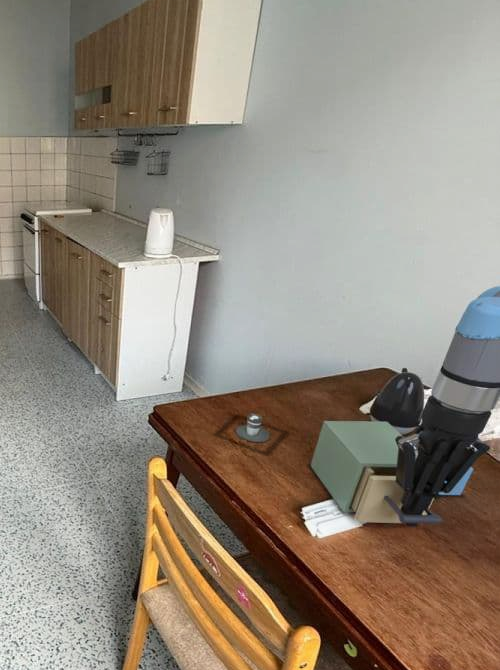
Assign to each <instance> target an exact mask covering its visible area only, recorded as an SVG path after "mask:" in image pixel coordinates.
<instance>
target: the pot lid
mask: <svg viewBox="0 0 500 670" xmlns="http://www.w3.org/2000/svg"><path fill="white" fill-rule="evenodd" d="M262 424H263V416H262V415H261V414H258V413H249V414H248V415H247V417H246V424H241V425H239V426H237V427H236V429H235V433H236V435H237V436H238V437H239V438H241V439H243V440H245V441H247V442H252V443H265V442H267V441H269V440H270V438H271V434H270V432H269V431H268V430H267V429H265V428H264V427H261V425H262Z"/></svg>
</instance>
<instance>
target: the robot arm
mask: <svg viewBox="0 0 500 670" xmlns="http://www.w3.org/2000/svg"><path fill="white" fill-rule="evenodd" d="M447 349H448V350H447V352H446V354H445V357H444V359H443V362H442V365H441V367H440V369H439V371H438V373H437V376H436V378H435V382H434V383H433V386H432V387H431V388H432V389H431V391H430V392H431V393H430V394H431V395H429V396H428V398H427V400H426V403H425V404H424V409H423V412H422V419H421V422H420V424H419V425H418V426H417V427H416V428H415V429H414V433H413V434H411V435H408V436H406V437H405V436H403V435H402V436H398V437H396V439H395V441H396V443H397V446H398V459H397V469H396V480H395V481H396V483H397V484H398V485H399V486H400V487H401V488H402V489H403V490H404V491H405V492H404V494H403V496H402V499H401V504H402V507H401V509H400V510H401V511H402V512H403V513H404V515H422V513H423V511H424V509H427V508H428V507H429V506H430V504H431V502H432V500H433V498H434V500H439V499H441V498H442V495H440V494H439V492H444V493H449V492H451V491H452V489H453V488H454V487H455V486H456V484H457V483H458V482H459V481H460V480H461V478H462V477H463V476H464V475H465V473H466V472H467V471H468V470H469V469H470V467H472V466H473V465H474V464H475V463H476V461H477V460H478V459H479V458H481V457H482V456H483V455H485V454H486V453H487V452H488V451H490V449H491V447H490V445H488V444H487V443H486V442H484V441H483V440H482V439H480V438H479V435H480V434H482V433H483V432H484V430H485V428H486V427H487V424H488V422H489V420H490V418H491V416H492V410H494V409H495V408H496V405H497V404H498V401H499V400H500V285H497V286H493V287H491V288H488V289H486V290H485V291H483V292H481V294H480V295H478V296H477V297H476V298H475V299H473V300H472V301H470V302H469V303H468V305H467V306H466V308H465V310H464V312H463V313H462V316H461V318H460V320H459V321H458V324H456V326H455V328H454V334H453V337H452V339H451V342H450V344H449V346H448V348H447ZM415 451H418V455H417V458H416V454H415ZM415 458H416V460H415ZM445 481H446V482H447V483H445ZM434 500H433V501H434ZM432 503H433V502H432ZM431 505H432V504H431ZM430 507H431V506H430ZM398 516H399V515H398ZM404 524H405V525H406V526H407V527H413V528H414V527H415V528H416V527H417V526H418V523H404Z"/></svg>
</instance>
